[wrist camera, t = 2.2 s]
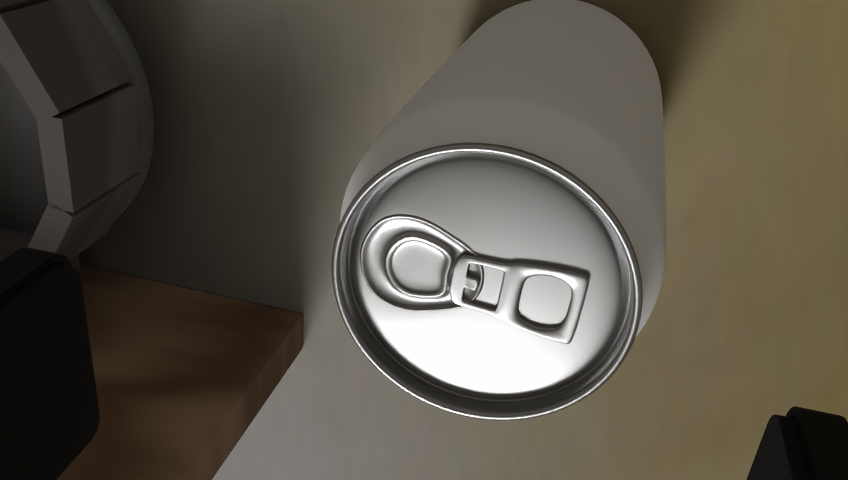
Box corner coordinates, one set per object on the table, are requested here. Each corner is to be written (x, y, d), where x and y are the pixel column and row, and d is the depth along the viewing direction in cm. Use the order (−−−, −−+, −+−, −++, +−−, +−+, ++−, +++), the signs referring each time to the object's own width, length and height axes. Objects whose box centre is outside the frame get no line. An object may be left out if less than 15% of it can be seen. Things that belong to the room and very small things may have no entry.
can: (469, -26, 24) (324, 80, 13) (690, 18, 23) (722, 171, 12) (435, 173, 27) (296, 386, 16) (629, 220, 26) (613, 479, 15)
